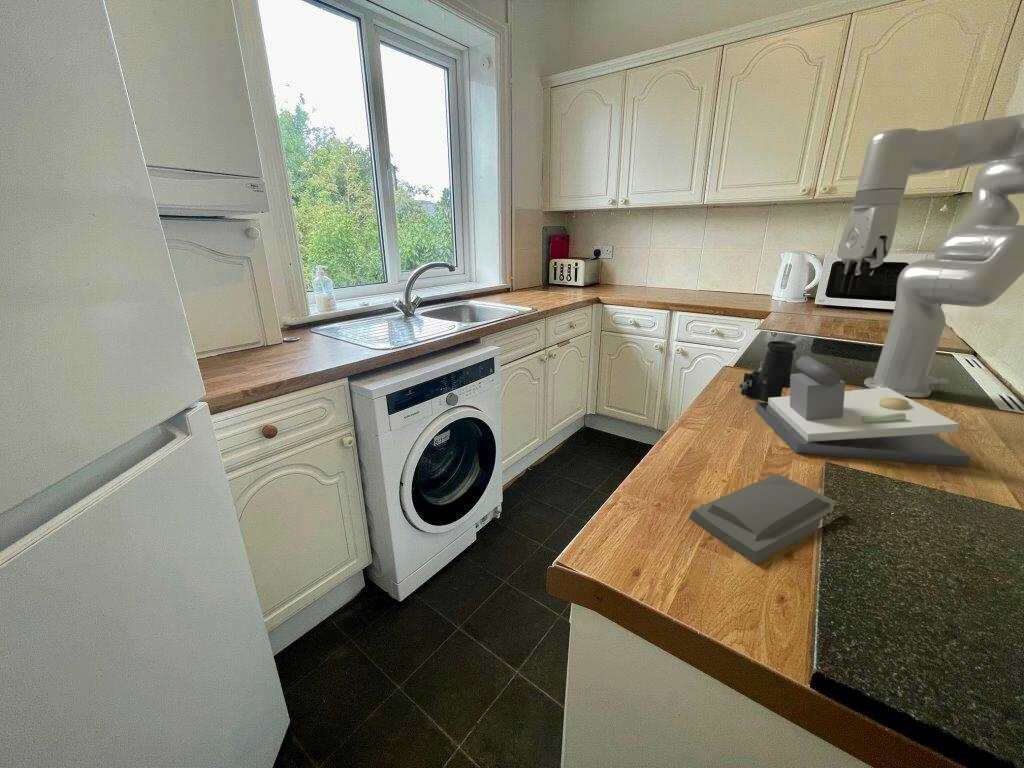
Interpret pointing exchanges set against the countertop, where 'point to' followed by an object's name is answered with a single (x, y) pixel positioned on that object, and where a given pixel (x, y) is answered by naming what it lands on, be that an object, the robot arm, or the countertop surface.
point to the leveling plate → (851, 408)
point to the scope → (770, 372)
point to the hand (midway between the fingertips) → (852, 293)
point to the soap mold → (764, 516)
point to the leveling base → (868, 444)
